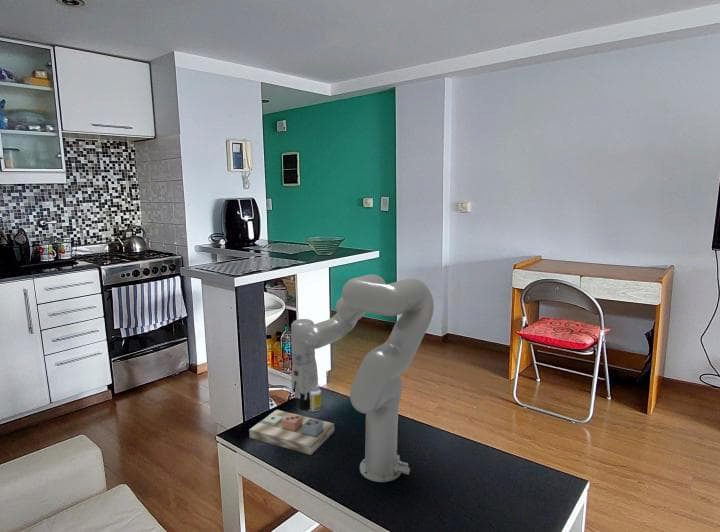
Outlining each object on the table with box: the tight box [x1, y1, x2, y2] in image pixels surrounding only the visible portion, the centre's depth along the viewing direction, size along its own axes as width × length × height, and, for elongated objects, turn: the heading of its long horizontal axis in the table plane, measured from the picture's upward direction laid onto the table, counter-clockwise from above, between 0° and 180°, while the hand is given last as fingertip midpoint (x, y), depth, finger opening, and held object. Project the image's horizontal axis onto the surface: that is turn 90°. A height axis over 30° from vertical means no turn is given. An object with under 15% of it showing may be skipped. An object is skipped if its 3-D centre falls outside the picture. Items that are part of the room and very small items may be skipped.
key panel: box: [248, 409, 335, 456], centre depth 158 cm, size 24×16×3 cm, turn 66°
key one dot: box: [262, 413, 283, 427], centre depth 161 cm, size 5×5×3 cm
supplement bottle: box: [308, 383, 322, 413], centre depth 176 cm, size 5×5×10 cm
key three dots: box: [282, 413, 303, 431], centre depth 157 cm, size 5×5×3 cm
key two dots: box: [302, 418, 323, 437], centre depth 154 cm, size 5×5×3 cm
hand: (304, 409), depth 154 cm, fingers closed
